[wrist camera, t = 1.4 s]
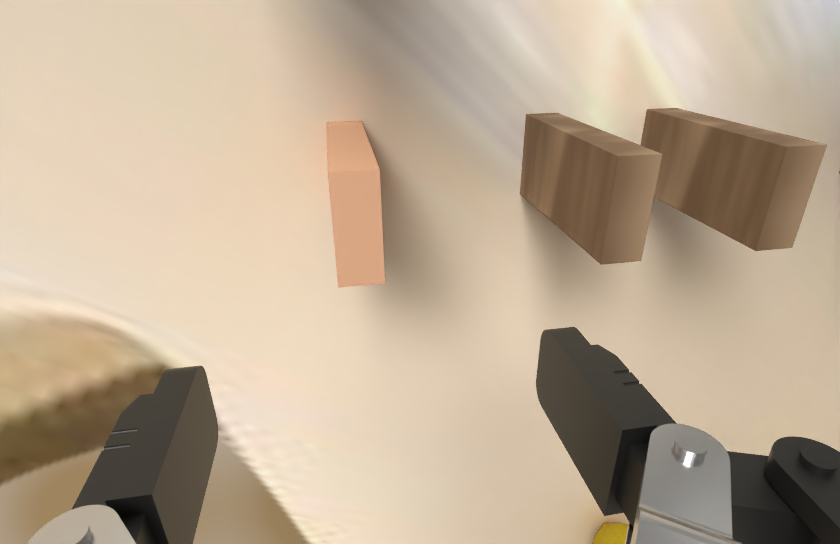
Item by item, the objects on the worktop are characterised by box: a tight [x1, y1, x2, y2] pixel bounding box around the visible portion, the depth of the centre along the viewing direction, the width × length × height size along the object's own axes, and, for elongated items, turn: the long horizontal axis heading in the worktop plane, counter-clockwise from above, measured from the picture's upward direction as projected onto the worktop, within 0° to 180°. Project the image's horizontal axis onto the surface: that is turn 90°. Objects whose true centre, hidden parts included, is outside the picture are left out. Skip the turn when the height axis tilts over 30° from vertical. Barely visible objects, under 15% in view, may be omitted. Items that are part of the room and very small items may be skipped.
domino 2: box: [520, 113, 662, 264], centre depth 27 cm, size 2×5×11 cm, turn 1°
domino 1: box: [326, 121, 385, 287], centre depth 26 cm, size 2×5×11 cm, turn 0°
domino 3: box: [641, 108, 827, 251], centre depth 29 cm, size 2×5×11 cm, turn 1°
